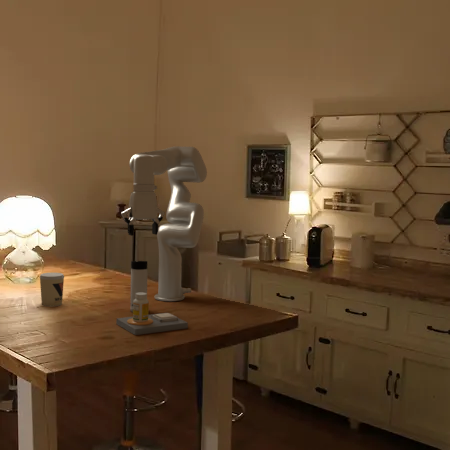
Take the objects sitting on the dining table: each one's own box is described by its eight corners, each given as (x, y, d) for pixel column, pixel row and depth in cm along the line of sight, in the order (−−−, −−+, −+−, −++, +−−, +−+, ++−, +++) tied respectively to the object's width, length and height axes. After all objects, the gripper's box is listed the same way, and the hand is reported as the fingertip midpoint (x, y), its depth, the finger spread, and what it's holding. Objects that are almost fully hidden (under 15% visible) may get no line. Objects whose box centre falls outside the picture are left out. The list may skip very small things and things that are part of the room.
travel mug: (131, 313, 246) (132, 261, 244) (129, 309, 252) (130, 258, 250) (148, 313, 247) (148, 261, 245) (145, 308, 254) (146, 258, 252)
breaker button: (167, 320, 235) (167, 312, 234) (174, 323, 230) (174, 315, 230) (155, 322, 232) (155, 314, 232) (161, 325, 228) (161, 317, 227)
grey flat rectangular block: (166, 317, 241) (167, 310, 240) (187, 328, 227) (187, 319, 227) (116, 324, 230) (116, 315, 230) (135, 335, 216) (135, 326, 216)
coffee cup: (57, 307, 251) (57, 277, 250) (35, 306, 253) (35, 275, 252) (68, 302, 261) (68, 273, 259) (46, 301, 262) (46, 271, 261)
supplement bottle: (132, 322, 223) (132, 295, 222) (133, 318, 229) (133, 291, 228) (148, 322, 224) (148, 295, 223) (148, 318, 229) (149, 292, 228)
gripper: (160, 188, 248) (159, 232, 250) (117, 188, 239) (117, 234, 240) (169, 189, 241) (168, 235, 243) (126, 189, 232) (125, 236, 234)
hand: (143, 234), depth 242 cm, fingers open, 9 cm apart
